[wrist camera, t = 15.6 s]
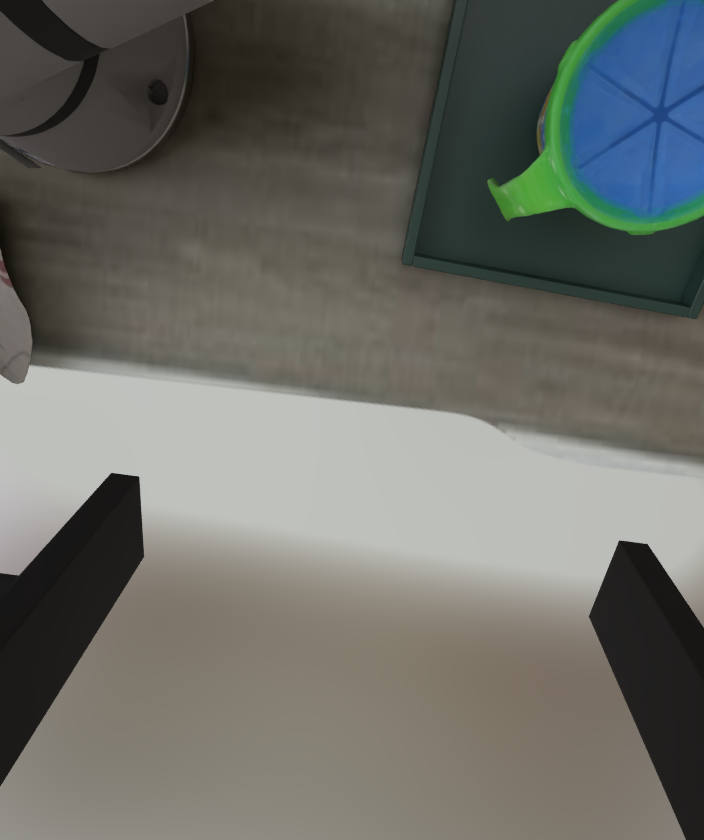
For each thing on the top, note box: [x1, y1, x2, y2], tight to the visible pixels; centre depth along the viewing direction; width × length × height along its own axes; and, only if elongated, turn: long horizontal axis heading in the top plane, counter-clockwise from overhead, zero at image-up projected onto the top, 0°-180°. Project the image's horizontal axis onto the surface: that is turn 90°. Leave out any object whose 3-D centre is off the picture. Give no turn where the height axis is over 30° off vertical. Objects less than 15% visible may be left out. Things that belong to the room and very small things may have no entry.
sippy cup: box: [487, 0, 704, 235], centre depth 30 cm, size 16×10×10 cm
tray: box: [402, 0, 704, 319], centre depth 34 cm, size 20×20×2 cm
